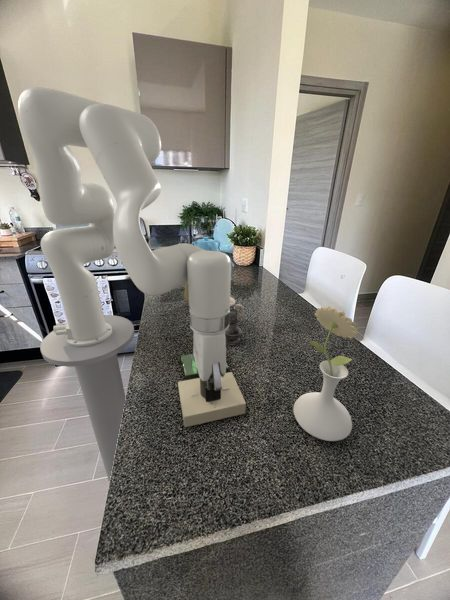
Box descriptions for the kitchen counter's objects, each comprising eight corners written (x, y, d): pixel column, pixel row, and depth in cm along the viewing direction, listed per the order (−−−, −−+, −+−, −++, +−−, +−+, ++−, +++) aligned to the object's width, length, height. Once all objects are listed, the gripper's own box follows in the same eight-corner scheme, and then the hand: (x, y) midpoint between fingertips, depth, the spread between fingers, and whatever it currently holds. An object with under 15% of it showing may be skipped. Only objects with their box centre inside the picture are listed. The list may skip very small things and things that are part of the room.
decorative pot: (209, 263, 153) (209, 241, 147) (188, 259, 160) (187, 237, 155) (223, 257, 166) (223, 236, 160) (203, 253, 173) (203, 233, 167)
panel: (184, 427, 50) (183, 416, 49) (178, 391, 59) (177, 381, 58) (245, 413, 54) (246, 402, 52) (231, 381, 62) (231, 371, 61)
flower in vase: (363, 436, 49) (404, 327, 39) (315, 454, 46) (345, 340, 35) (319, 389, 60) (342, 294, 50) (278, 401, 57) (293, 302, 46)
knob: (222, 397, 54) (223, 380, 52) (202, 401, 52) (202, 384, 50) (217, 382, 57) (217, 366, 55) (198, 386, 56) (198, 369, 54)
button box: (185, 382, 62) (184, 369, 60) (181, 362, 69) (180, 350, 67) (228, 374, 64) (228, 362, 63) (220, 355, 71) (220, 344, 70)
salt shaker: (227, 333, 82) (228, 300, 77) (244, 338, 80) (246, 304, 74) (219, 342, 77) (219, 307, 72) (236, 347, 75) (238, 312, 70)
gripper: (183, 301, 53) (187, 368, 61) (198, 346, 39) (200, 427, 46) (217, 297, 55) (217, 363, 63) (243, 339, 41) (238, 418, 48)
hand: (210, 390), depth 55 cm, fingers closed on knob, 4 cm apart
